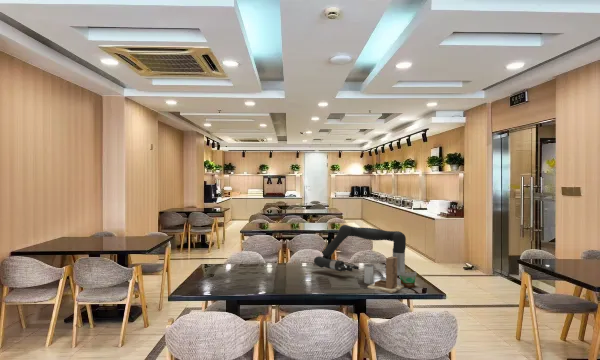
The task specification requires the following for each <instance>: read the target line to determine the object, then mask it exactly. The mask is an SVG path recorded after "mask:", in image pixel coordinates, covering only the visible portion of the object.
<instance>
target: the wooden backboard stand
mask: <svg viewBox="0 0 600 360" xmlns="http://www.w3.org/2000/svg"><path fill="white" fill-rule="evenodd" d="M385 260H386V261H385V262H386V264H385V280H384V279H379V280H377V281H374V283H372V284H369V285H368V286H367V287H366V288H367V289H370V290H376V291H380V292H385V293H388V294H393V293H396V292H398V291H400V290H402V289H404V288H405V287H404V286H401V284H398V276H397V257H393V256H390V257H386V258H385Z"/></svg>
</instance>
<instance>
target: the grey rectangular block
mask: <svg viewBox="0 0 600 360" xmlns="http://www.w3.org/2000/svg"><path fill="white" fill-rule="evenodd" d="M363 267H364V273H363V274H364V276H363V277H364V281H363V282H364V284H367V285H368V284H369V285H372V284H374V264H372V263H365V264H364V266H363Z"/></svg>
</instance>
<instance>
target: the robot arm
mask: <svg viewBox="0 0 600 360" xmlns="http://www.w3.org/2000/svg"><path fill="white" fill-rule="evenodd" d="M348 237H355V238H361V239H364V240H369V241H389V242H393V246H392V257H397V277H400V275H399V273H400V272H402V273H406V271H405V268H406V264H405V263H406V258H405V257H406V248H407V247H406V245H407V241H406V240H407V239H406V235H405V233H403V232H401V231H396V230H395V231H394V230H392V231H391V230H383V229H380V228H379V229H378V228H372V227H356V226H351V225H348V224H343V225H340V227H339V229H338V233H337V234H336V236H335V237H334V238H333V239H332V240H331V241H330V242H329V244H328V245H327V246H326V247H325V248H324V249H323V250H322V253H321V254H322V256H315V258H314V259H313V263H314V265H315V266H317V267H319V268H322V269H323V268H326V269H330V270H333V271H338V272H353V270H357V271H358V270H359V268H360V267H359V266H357V265H355V264H351V263H345V262H344V261H343V260H337V259H330V257H331V256H332V255H333V254H334V252H335V251H337V249H338V247H339V246H340V245H341V244H342V243H343V241H344V240H346V239H347V238H348Z"/></svg>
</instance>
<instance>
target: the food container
mask: <svg viewBox="0 0 600 360" xmlns="http://www.w3.org/2000/svg"><path fill="white" fill-rule="evenodd" d="M399 275H400V276H399V279H400V285H401V286H404V288H408V289H411V288H412V289H413V288H415V286H416V285H415V284H416V276H417V272H416V271H414V272H411V271H410V272H408V271H407V272H406V271H405V273H402V272H400V273H399Z"/></svg>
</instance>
